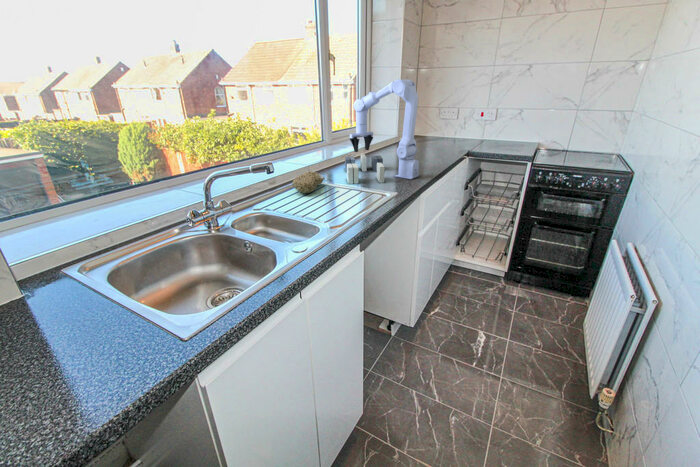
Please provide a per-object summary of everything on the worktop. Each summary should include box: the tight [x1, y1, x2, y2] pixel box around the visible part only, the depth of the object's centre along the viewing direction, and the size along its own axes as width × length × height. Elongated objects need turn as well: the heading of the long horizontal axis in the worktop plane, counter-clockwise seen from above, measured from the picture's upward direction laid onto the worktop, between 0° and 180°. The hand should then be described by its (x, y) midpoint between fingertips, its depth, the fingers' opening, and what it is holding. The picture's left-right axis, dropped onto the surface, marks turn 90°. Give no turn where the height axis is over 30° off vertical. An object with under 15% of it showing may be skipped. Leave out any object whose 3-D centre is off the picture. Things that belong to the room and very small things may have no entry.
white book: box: [360, 153, 368, 173], centre depth 177 cm, size 2×9×8 cm, turn 4°
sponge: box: [292, 171, 325, 194], centre depth 143 cm, size 13×8×20 cm
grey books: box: [344, 155, 384, 173], centre depth 177 cm, size 19×9×6 cm, turn 94°
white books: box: [346, 162, 385, 185], centre depth 156 cm, size 17×9×8 cm, turn 94°
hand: (361, 151), depth 175 cm, fingers open, 7 cm apart
